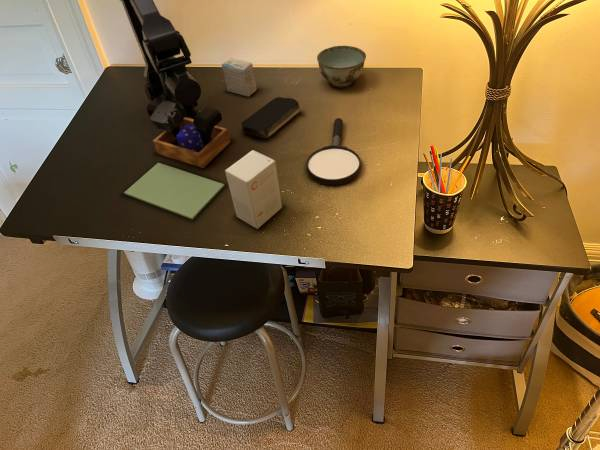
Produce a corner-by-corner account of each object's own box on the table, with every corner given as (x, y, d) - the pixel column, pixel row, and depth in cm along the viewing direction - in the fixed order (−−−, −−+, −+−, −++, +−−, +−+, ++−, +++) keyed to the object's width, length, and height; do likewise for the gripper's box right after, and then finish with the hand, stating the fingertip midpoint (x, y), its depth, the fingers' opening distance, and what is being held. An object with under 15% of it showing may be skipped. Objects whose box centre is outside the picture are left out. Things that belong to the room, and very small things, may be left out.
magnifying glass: (363, 125, 118) (363, 117, 117) (359, 187, 102) (359, 179, 100) (314, 124, 120) (314, 117, 118) (303, 185, 104) (303, 178, 102)
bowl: (313, 93, 131) (312, 66, 125) (322, 70, 140) (321, 44, 134) (361, 95, 128) (362, 68, 122) (367, 72, 137) (368, 45, 131)
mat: (124, 194, 106) (123, 192, 106) (158, 164, 113) (158, 162, 113) (192, 220, 99) (191, 218, 98) (224, 186, 106) (224, 184, 105)
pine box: (157, 153, 116) (152, 140, 113) (186, 129, 123) (182, 116, 120) (203, 168, 111) (199, 155, 108) (230, 141, 118) (227, 128, 115)
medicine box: (257, 90, 134) (252, 62, 128) (248, 97, 132) (243, 69, 126) (236, 84, 138) (230, 57, 131) (226, 91, 135) (221, 64, 129)
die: (207, 143, 118) (202, 126, 114) (198, 154, 115) (193, 138, 111) (189, 140, 119) (184, 124, 116) (180, 152, 116) (175, 135, 112)
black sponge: (265, 144, 116) (263, 131, 113) (240, 134, 120) (237, 122, 117) (303, 112, 124) (302, 100, 122) (278, 104, 128) (277, 92, 126)
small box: (261, 196, 102) (252, 148, 93) (282, 207, 99) (276, 159, 90) (235, 217, 98) (223, 169, 89) (257, 230, 95) (247, 182, 86)
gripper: (120, 94, 103) (143, 151, 115) (185, 112, 96) (202, 170, 107) (153, 72, 110) (171, 127, 121) (216, 86, 103) (229, 143, 114)
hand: (192, 141), depth 116 cm, fingers open, 9 cm apart
